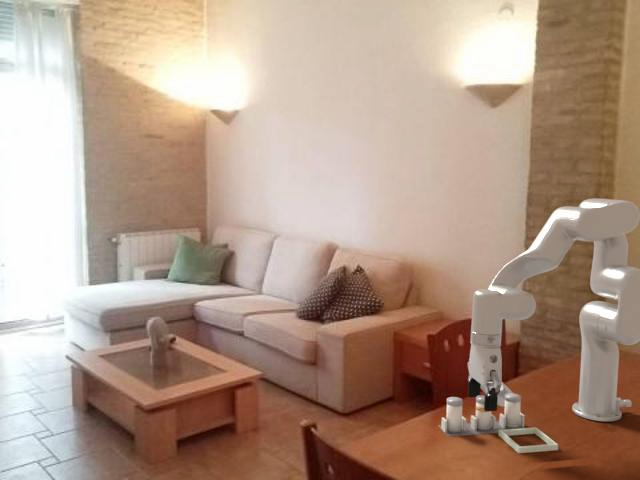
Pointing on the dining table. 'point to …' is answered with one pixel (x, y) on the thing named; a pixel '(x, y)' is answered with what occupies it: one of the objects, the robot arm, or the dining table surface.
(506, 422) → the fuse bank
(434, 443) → the dining table surface
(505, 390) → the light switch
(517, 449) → the tray
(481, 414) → the cylinder
